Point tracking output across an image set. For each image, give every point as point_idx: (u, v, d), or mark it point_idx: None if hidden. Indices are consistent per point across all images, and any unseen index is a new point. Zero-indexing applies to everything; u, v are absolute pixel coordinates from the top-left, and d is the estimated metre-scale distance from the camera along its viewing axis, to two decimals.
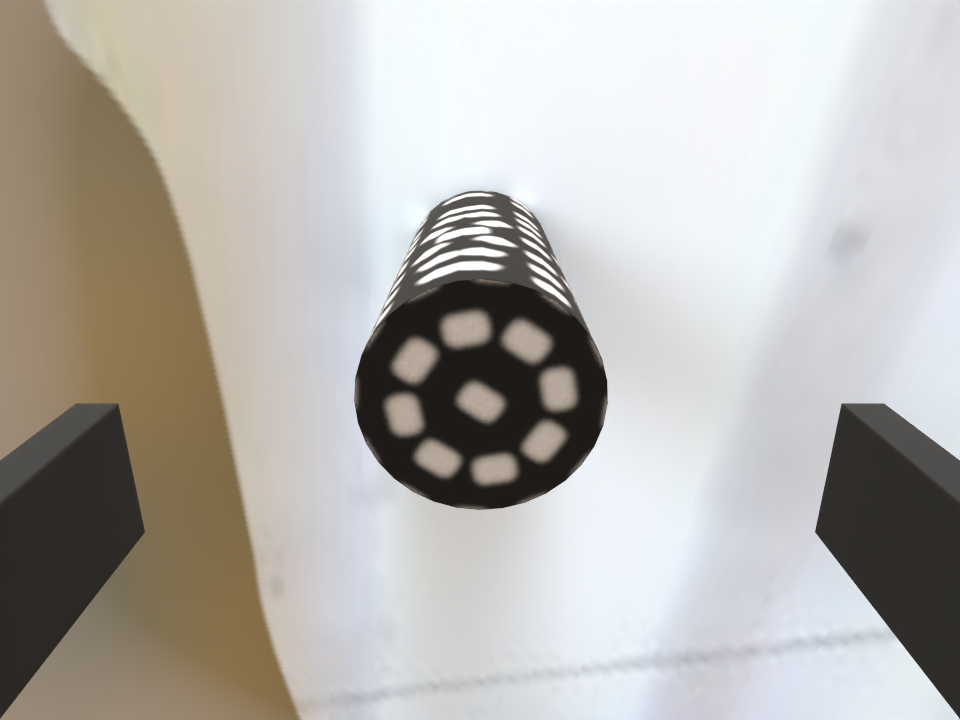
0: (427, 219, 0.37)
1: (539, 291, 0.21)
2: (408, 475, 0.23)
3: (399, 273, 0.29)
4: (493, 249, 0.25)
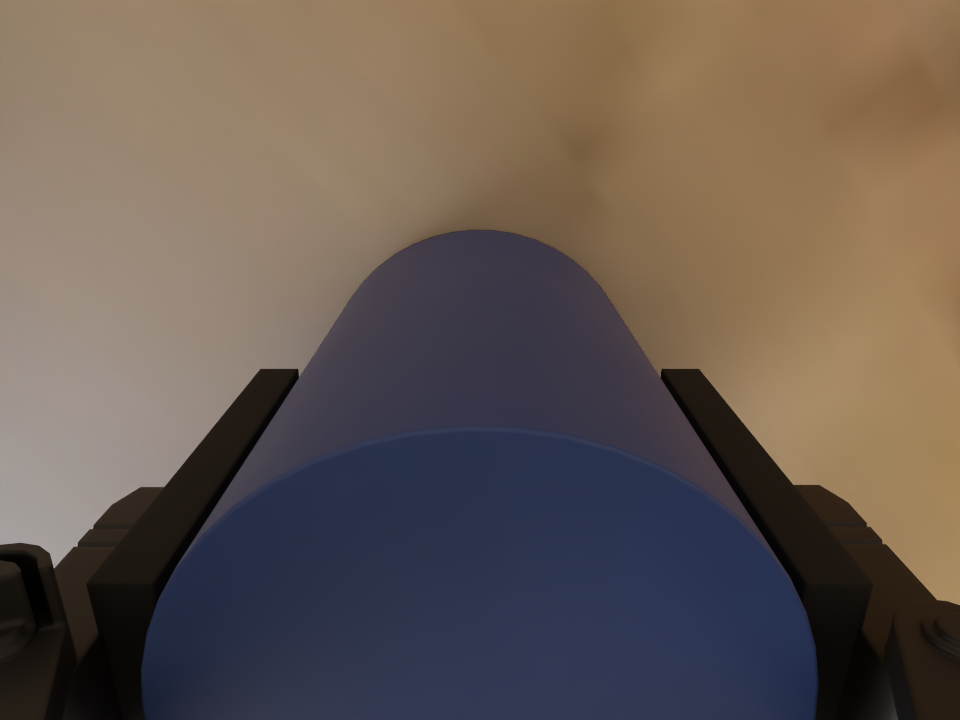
0: None
1: None
2: None
3: None
4: None
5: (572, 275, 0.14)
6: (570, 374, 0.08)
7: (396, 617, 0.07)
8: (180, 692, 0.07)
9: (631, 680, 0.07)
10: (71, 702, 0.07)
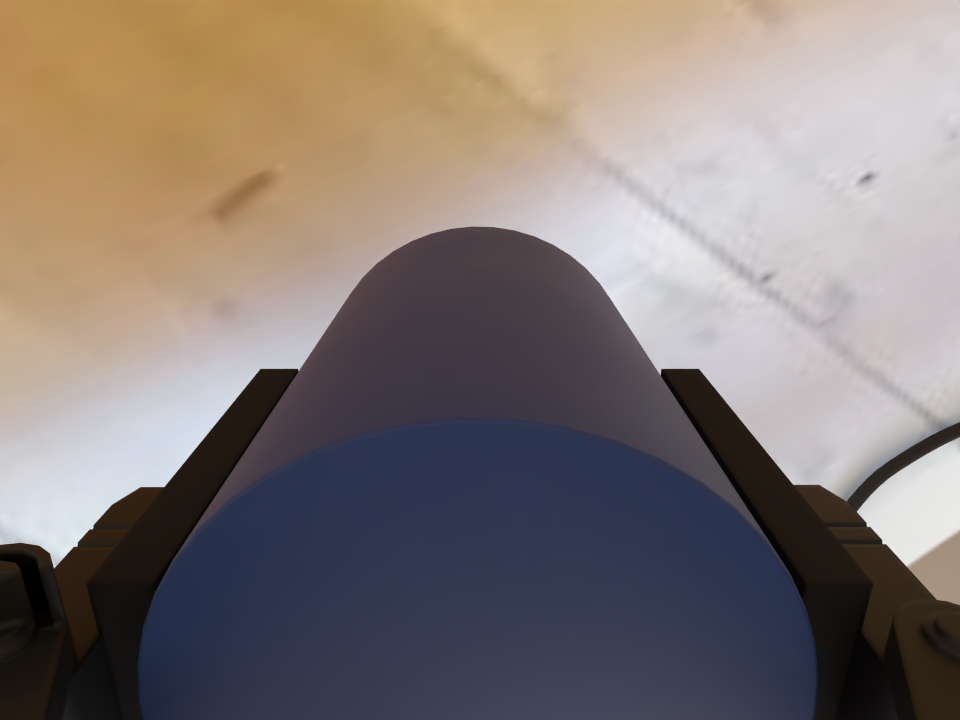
0: None
1: None
2: None
3: None
4: None
5: (571, 271, 0.13)
6: (568, 368, 0.08)
7: (394, 611, 0.07)
8: (176, 688, 0.07)
9: (629, 676, 0.07)
10: (71, 702, 0.07)
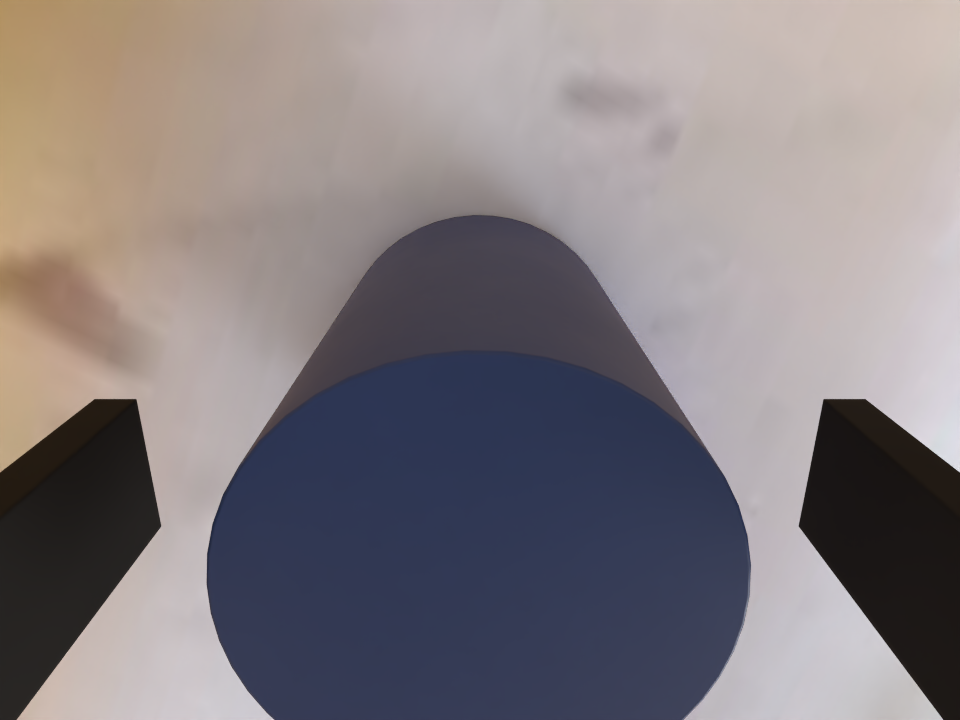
0: None
1: None
2: None
3: None
4: None
5: (561, 253, 0.15)
6: (552, 321, 0.09)
7: (412, 509, 0.09)
8: (238, 573, 0.09)
9: (599, 563, 0.09)
10: None
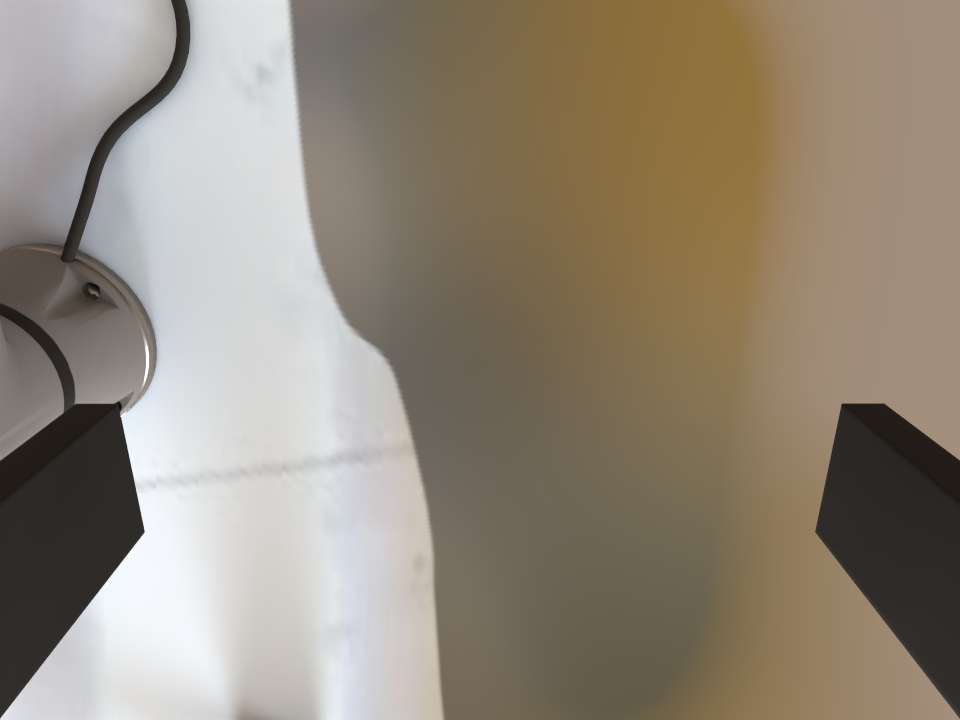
0: None
1: None
2: None
3: None
4: None
5: None
6: None
7: None
8: None
9: None
10: None
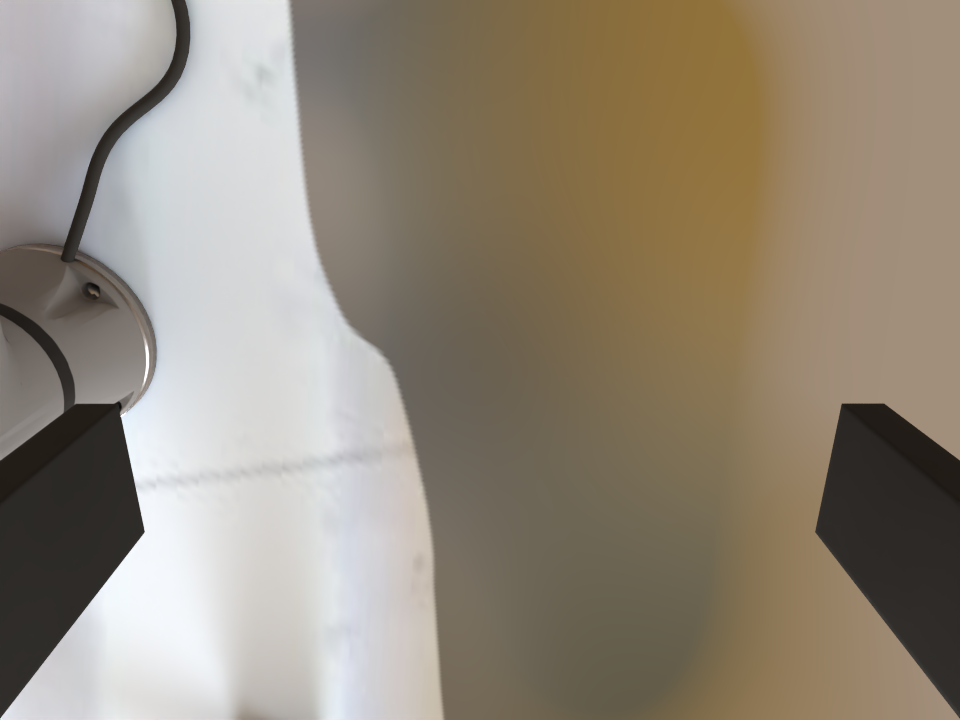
0: None
1: None
2: None
3: None
4: None
5: None
6: None
7: None
8: None
9: None
10: None
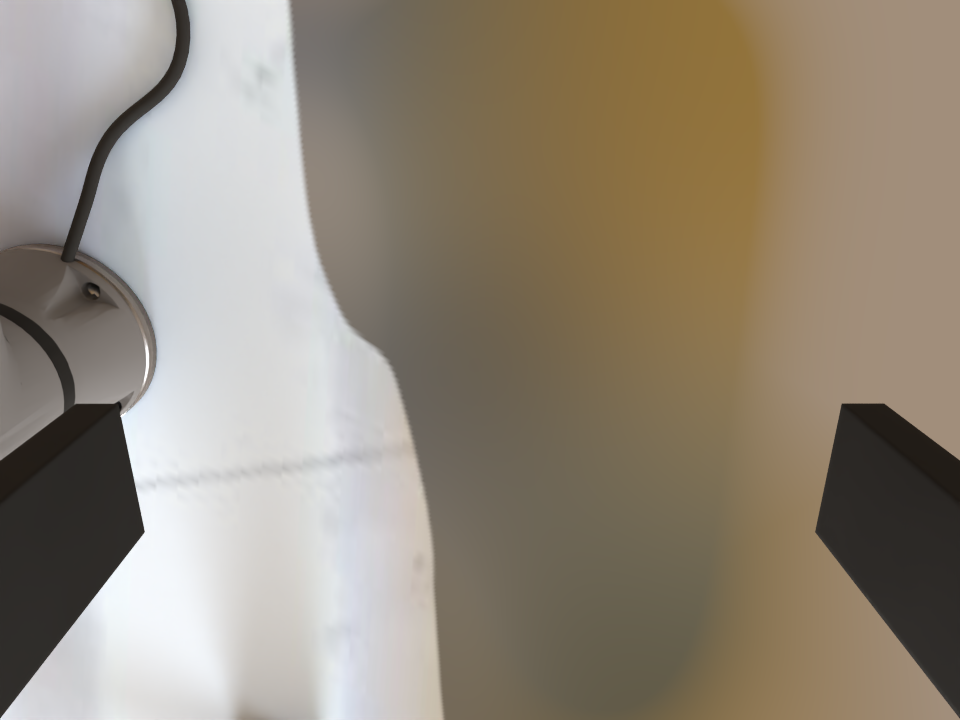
0: None
1: None
2: None
3: None
4: None
5: None
6: None
7: None
8: None
9: None
10: None
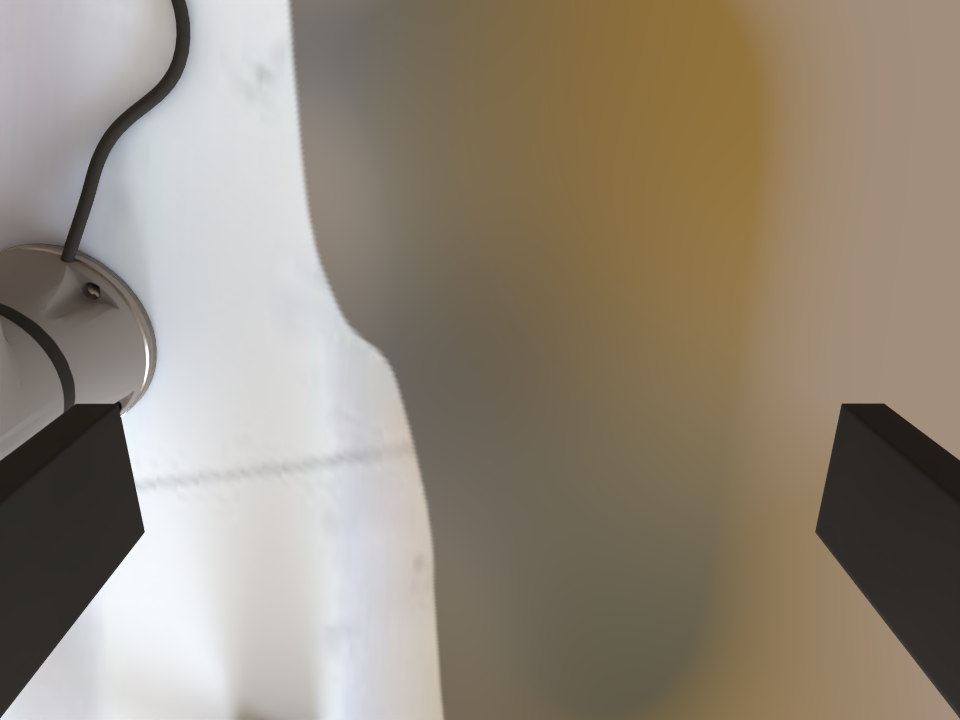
0: None
1: None
2: None
3: None
4: None
5: None
6: None
7: None
8: None
9: None
10: None
